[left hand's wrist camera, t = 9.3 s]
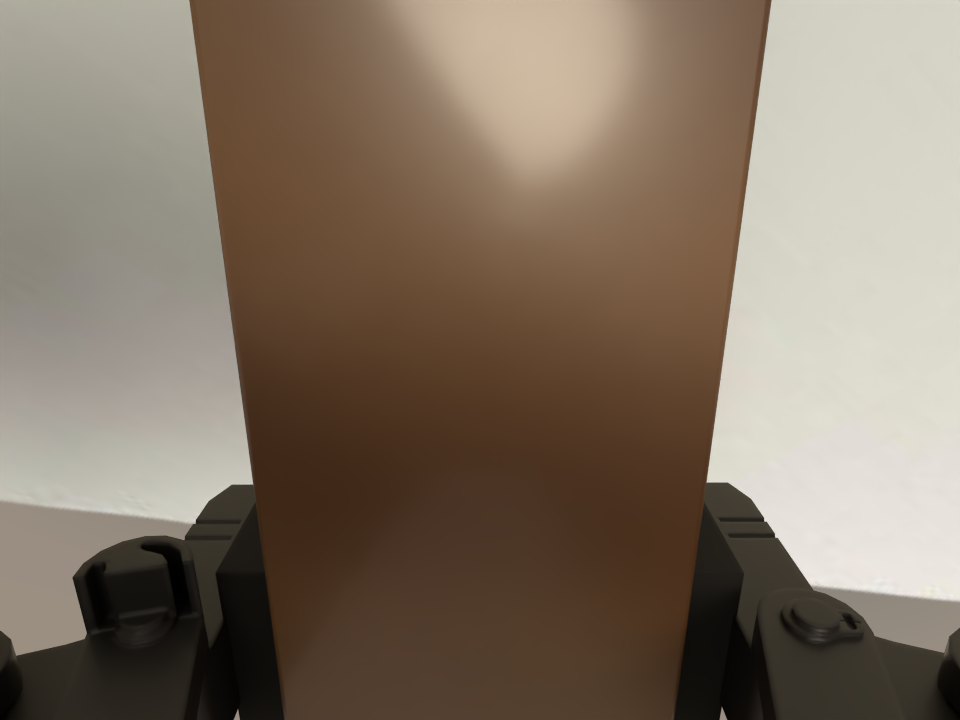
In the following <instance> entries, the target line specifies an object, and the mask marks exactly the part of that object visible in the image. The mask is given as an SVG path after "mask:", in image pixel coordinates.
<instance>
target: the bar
mask: <svg viewBox="0 0 960 720" xmlns="http://www.w3.org/2000/svg"><path fill="white" fill-rule="evenodd" d="M189 1H190V8H191V16H192V24H193V31H194V39H195V46H196V54H197V61H198V69H199V77H200V84H201V92H202V99H203V107H204V114H205V122H206V130H207V137H208V145H209V152H210V160H211V167H212V175H213V183H214V190H215V198H216V205H217V213H218V220H219V228H220V236H221V243H222V251H223V258H224V266H225V273H226V281H227V289H228V296H229V304H230V311H231V319H232V327H233V334H234V342H235V349H236V357H237V364H238V372H239V380H240V387H241V395H242V402H243V410H244V417H245V425H246V433H247V440H248V448H249V455H250V463H251V470H252V478H253V486H254V493H255V501H256V508H257V516H258V523H259V531H260V539H261V546H262V554H263V561H264V569H265V576H266V584H267V592H268V599H269V607H270V614H271V622H272V629H273V637H274V645H275V652H276V660H277V667H278V675H279V683H280V690H281V698H282V705H283V713H284V720H674V719H675V712H676V704H677V697H678V689H679V682H680V675H681V667H682V660H683V652H684V645H685V637H686V630H687V623H688V615H689V608H690V600H691V593H692V586H693V578H694V571H695V563H696V556H697V549H698V541H699V534H700V526H701V519H702V511H703V504H704V497H705V489H706V482H707V474H708V467H709V460H710V452H711V445H712V437H713V430H714V423H715V415H716V408H717V400H718V393H719V385H720V378H721V371H722V363H723V356H724V348H725V341H726V334H727V326H728V319H729V311H730V304H731V297H732V289H733V282H734V274H735V267H736V259H737V252H738V245H739V237H740V230H741V222H742V215H743V208H744V200H745V193H746V185H747V178H748V171H749V163H750V156H751V148H752V141H753V133H754V126H755V119H756V111H757V104H758V96H759V89H760V82H761V74H762V67H763V59H764V52H765V45H766V37H767V30H768V22H769V15H770V7H771V0H189Z"/></svg>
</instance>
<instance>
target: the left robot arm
mask: <svg viewBox="0 0 960 720" xmlns="http://www.w3.org/2000/svg"><path fill="white" fill-rule="evenodd" d="M73 581H74V585H75V589H76V593H77V597H78V600H79V604H80V608H81V612H82V616H83V619H84V623H85V627H86V631H87V635H86V637H85V639H84V640H80V641H77V642H73V643H70V644H66V645H62V646H58V647H53V648H49V649H44V650H40V651H36V652H31V653H27V654H22V655H18V656H16V654H15V651H14V648H13V645H12V641H11V639H10V638H8V637H7V636H6V635H5V634H4V633H3V632H1V631H0V720H234V717H235V715H236V712H237V710H239V716H240V720H284V713H283V705H282V698H281V690H280V683H279V675H278V667H277V660H276V652H275V645H274V637H273V629H272V622H271V614H270V607H269V599H268V592H267V584H266V576H265V569H264V561H263V554H262V546H261V539H260V531H259V523H258V516H257V508H256V501H255V493H254V486H253V485H231V486H230V487H228V488H227V489H225V490H224V491H223V492H221V493H220V494H218V495H217V496H215V497H214V498H213V499H211V500H210V501H209V502H208V503H207V505H206V506H205V508H204V509H203V511H202V512H201V514H200V515H199V516H198V518H197V519H196V524H193V525H192V527H191V528H190V530H189V531H188V533H187V534H186V536H185V540H181V539H177V538H173V537H169V536H144V537H140V538H136V539H131V540H128V541H123V542H121V543H118V544H116V545H114V546H111V547H109V548H107V549H104V550H102V551H100V552H99V553H97V554H96V555H95V556H93V557H92V558H90V559H89V560H88V561H86V562H85V563H84V564H83V565H82V566H81V567H80V568H79V570H78V571H77V572H76V574H75V575H74V576H73ZM721 708H723V710H724V713H725V715H726V718H727V720H960V628H959V629H958V630H957V631H955V632H954V633H953V634H952V635H951V636H950V637H949V640H948V643H947V646H946V649H945V652H944V653H941V652H937V651H933V650H928V649H924V648H919V647H915V646H910V645H906V644H901V643H897V642H893V641H889V640H886V639H882V638H879V637H876V636H874V634H873V632H872V630H871V629H870V627H869V626H868V624H867V623H866V621H865V620H864V618H863V617H862V616H861V615H859V614H858V613H857V612H856V611H854V610H853V609H852V608H851V607H849V606H848V605H847V604H845V603H843V602H841V601H839V600H837V599H835V598H833V597H831V596H829V595H827V594H824V593H821V592H817V591H814V590H813V589H812V587H811V586H810V584H809V583H808V581H807V580H806V579H805V577H804V576H803V574H802V573H801V571H800V570H799V568H798V567H797V565H796V564H795V562H794V561H793V560H792V558H791V557H790V555H789V554H788V552H787V551H786V549H785V548H784V546H783V545H782V544H781V542H780V541H779V539H778V538H775V533H774V532H773V530H772V529H771V527H770V526H769V525H768V523H767V522H764V517H763V516H762V514H761V513H760V511H759V510H758V508H757V507H756V506H755V504H754V503H753V501H752V500H751V499H750V498H749V497H747V496H746V495H745V494H743V493H742V492H740V491H739V490H738V489H736V488H735V487H733V486H732V485H730V484H729V483H706V489H705V497H704V504H703V511H702V519H701V526H700V534H699V541H698V549H697V556H696V563H695V571H694V578H693V586H692V593H691V600H690V608H689V615H688V623H687V630H686V637H685V645H684V652H683V660H682V667H681V675H680V682H679V689H678V697H677V704H676V712H675V719H674V720H719V719H720V713H721Z"/></svg>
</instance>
